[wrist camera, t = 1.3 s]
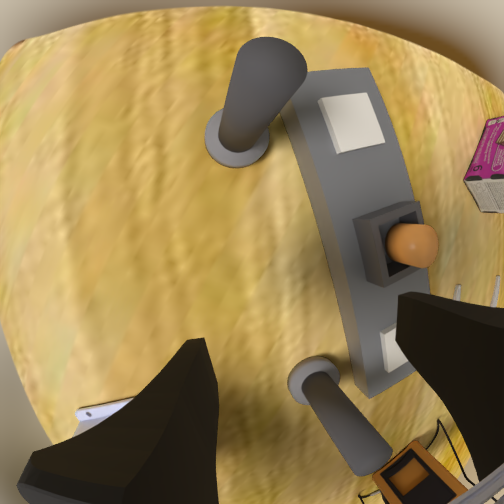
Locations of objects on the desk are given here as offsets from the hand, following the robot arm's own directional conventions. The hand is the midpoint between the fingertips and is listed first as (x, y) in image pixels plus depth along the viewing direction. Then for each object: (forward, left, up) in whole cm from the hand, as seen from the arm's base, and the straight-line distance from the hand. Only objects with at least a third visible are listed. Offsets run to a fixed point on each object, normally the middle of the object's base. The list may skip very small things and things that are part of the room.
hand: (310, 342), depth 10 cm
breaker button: (+9, 0, -6) cm, 10 cm away
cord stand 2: (+2, -9, -10) cm, 13 cm away
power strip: (+9, 0, -10) cm, 13 cm away
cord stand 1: (+2, +9, -10) cm, 14 cm away
